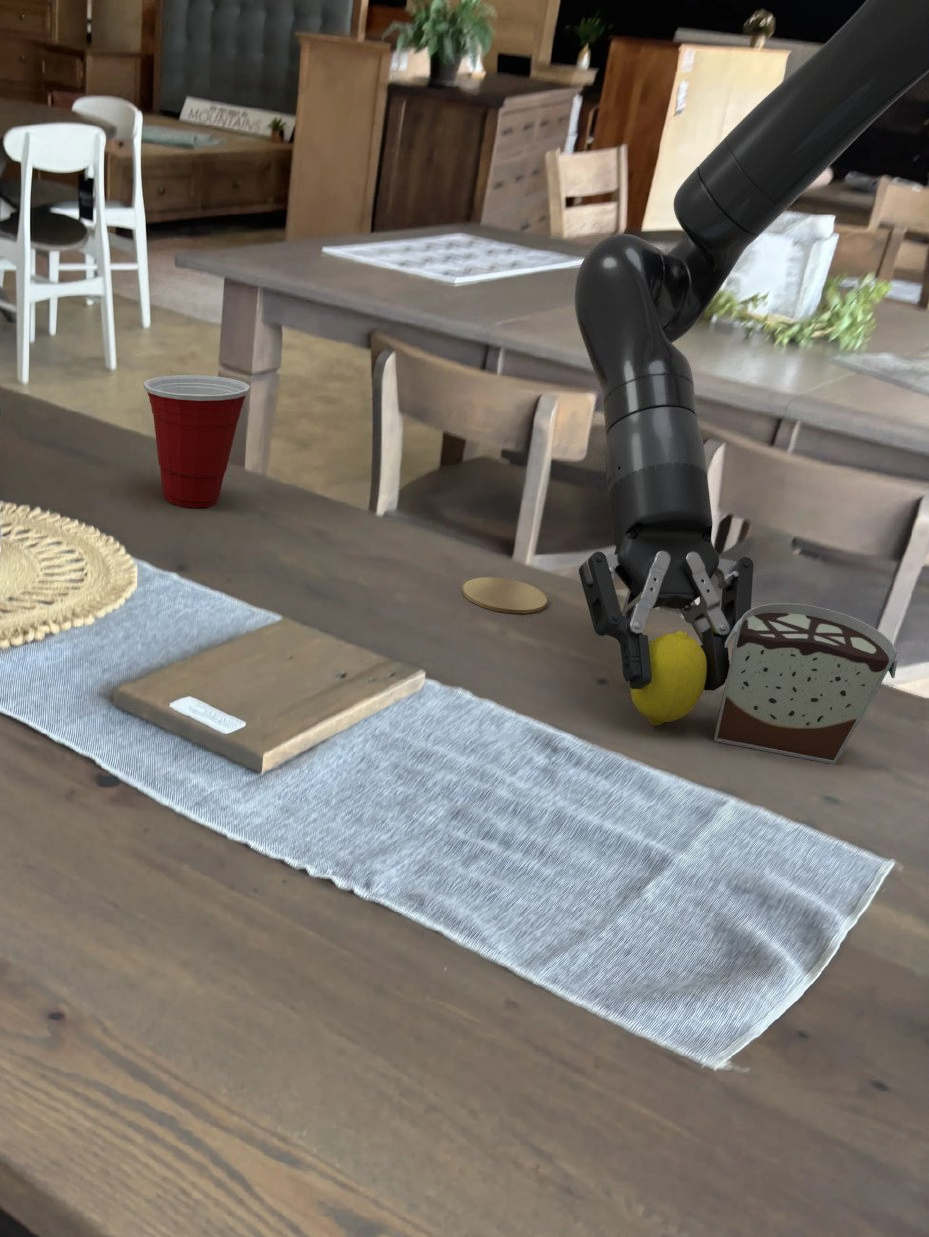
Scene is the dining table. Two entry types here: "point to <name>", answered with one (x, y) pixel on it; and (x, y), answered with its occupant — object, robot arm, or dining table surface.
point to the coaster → (504, 595)
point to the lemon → (672, 678)
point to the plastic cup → (194, 433)
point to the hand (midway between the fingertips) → (678, 686)
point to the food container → (800, 680)
